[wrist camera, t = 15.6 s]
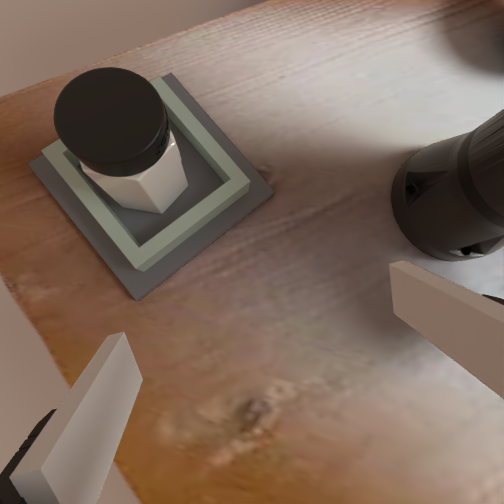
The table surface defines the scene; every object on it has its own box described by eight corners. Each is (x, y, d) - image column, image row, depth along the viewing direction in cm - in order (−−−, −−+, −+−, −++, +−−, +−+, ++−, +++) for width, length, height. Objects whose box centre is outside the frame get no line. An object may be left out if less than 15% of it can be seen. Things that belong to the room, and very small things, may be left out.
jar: (197, 202, 34) (181, 149, 22) (127, 226, 32) (71, 182, 21) (171, 135, 35) (144, 50, 23) (103, 155, 34) (38, 76, 22)
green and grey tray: (172, 78, 37) (166, 52, 33) (273, 194, 36) (279, 181, 32) (32, 167, 34) (7, 149, 30) (138, 301, 32) (126, 300, 28)
